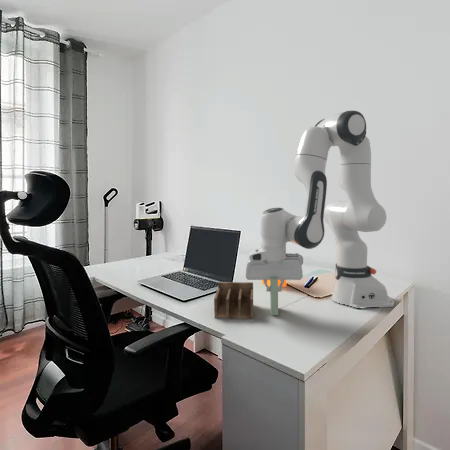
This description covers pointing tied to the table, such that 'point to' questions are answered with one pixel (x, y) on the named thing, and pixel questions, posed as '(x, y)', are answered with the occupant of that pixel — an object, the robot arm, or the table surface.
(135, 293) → the table surface
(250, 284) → the file sorter
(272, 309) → the board
